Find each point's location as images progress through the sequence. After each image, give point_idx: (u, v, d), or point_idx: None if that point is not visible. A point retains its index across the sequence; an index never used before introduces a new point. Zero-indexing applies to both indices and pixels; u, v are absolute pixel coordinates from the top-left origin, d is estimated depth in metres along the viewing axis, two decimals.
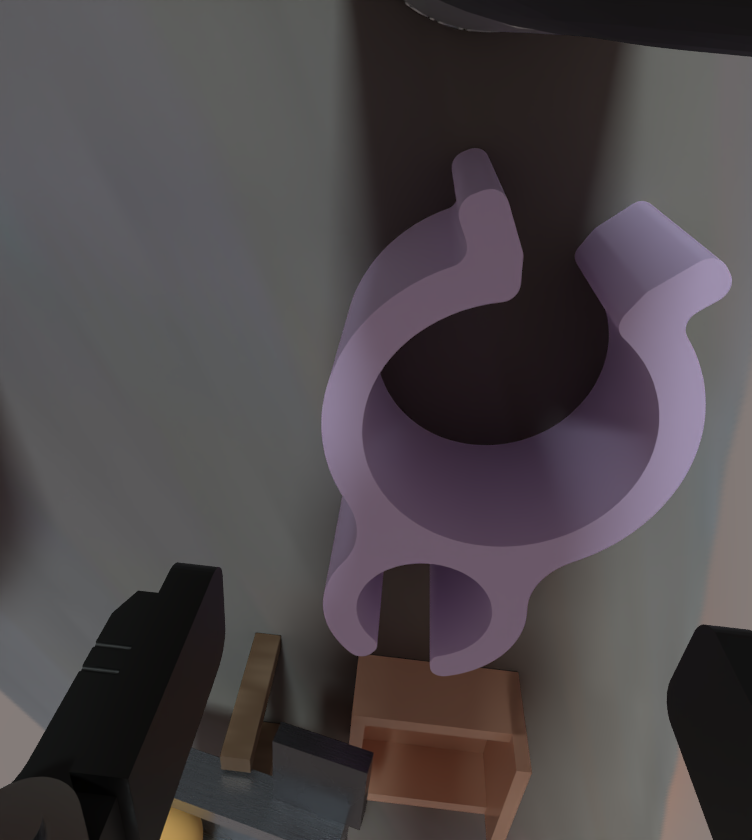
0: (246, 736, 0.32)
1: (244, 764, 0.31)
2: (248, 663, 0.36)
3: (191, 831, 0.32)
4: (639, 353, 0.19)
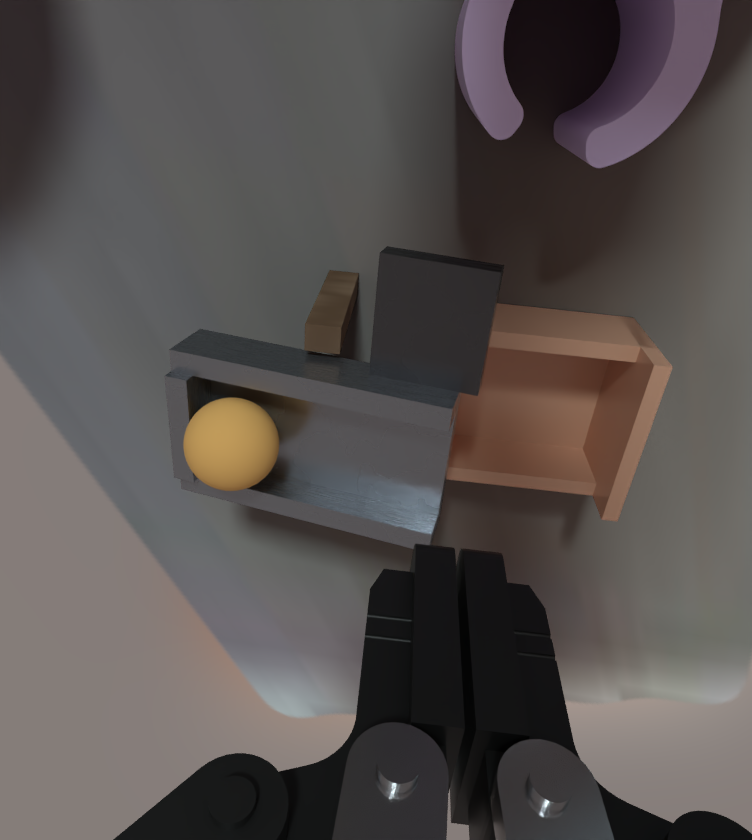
0: (333, 316, 0.27)
1: (334, 336, 0.26)
2: (325, 283, 0.31)
3: (268, 423, 0.26)
4: None
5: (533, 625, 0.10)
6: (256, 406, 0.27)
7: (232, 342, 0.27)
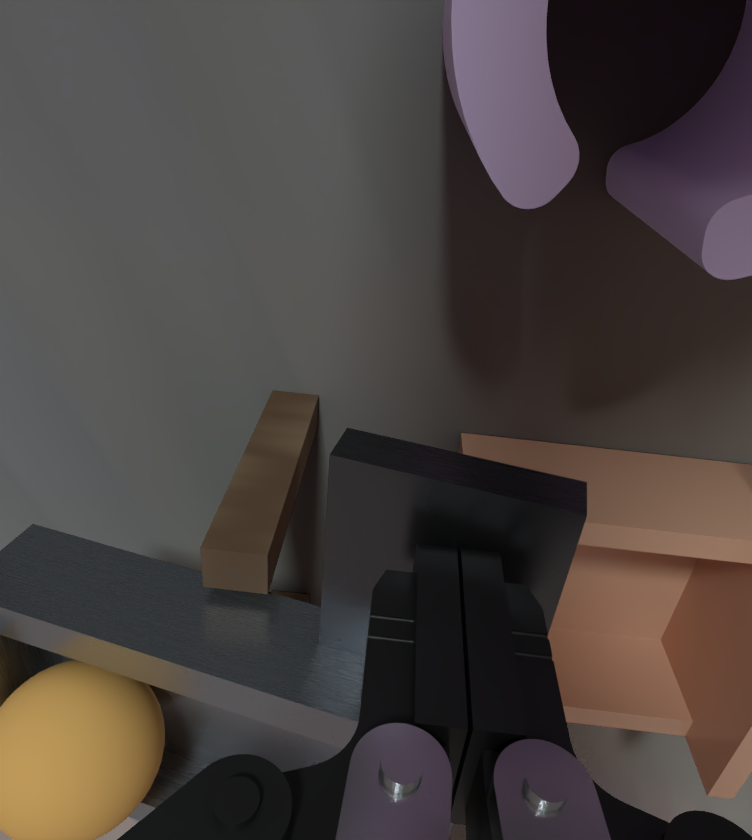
0: (258, 519, 0.15)
1: (255, 568, 0.14)
2: (260, 424, 0.19)
3: (136, 724, 0.14)
4: None
5: (530, 625, 0.10)
6: (116, 687, 0.15)
7: (80, 560, 0.15)
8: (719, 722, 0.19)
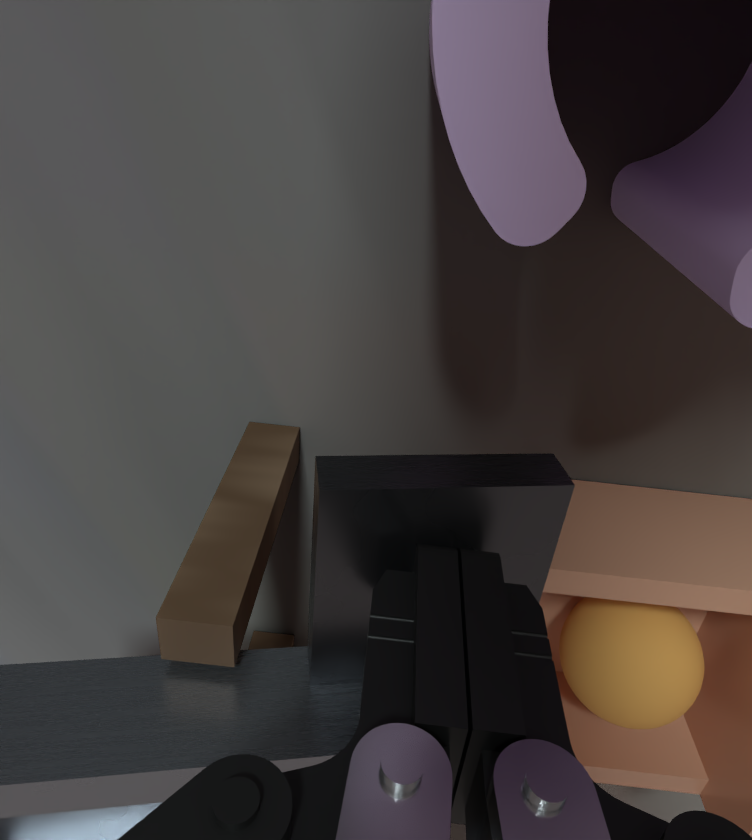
0: (225, 580, 0.13)
1: (219, 640, 0.12)
2: (233, 462, 0.17)
3: None
4: None
5: (530, 625, 0.10)
6: None
7: None
8: (739, 786, 0.18)
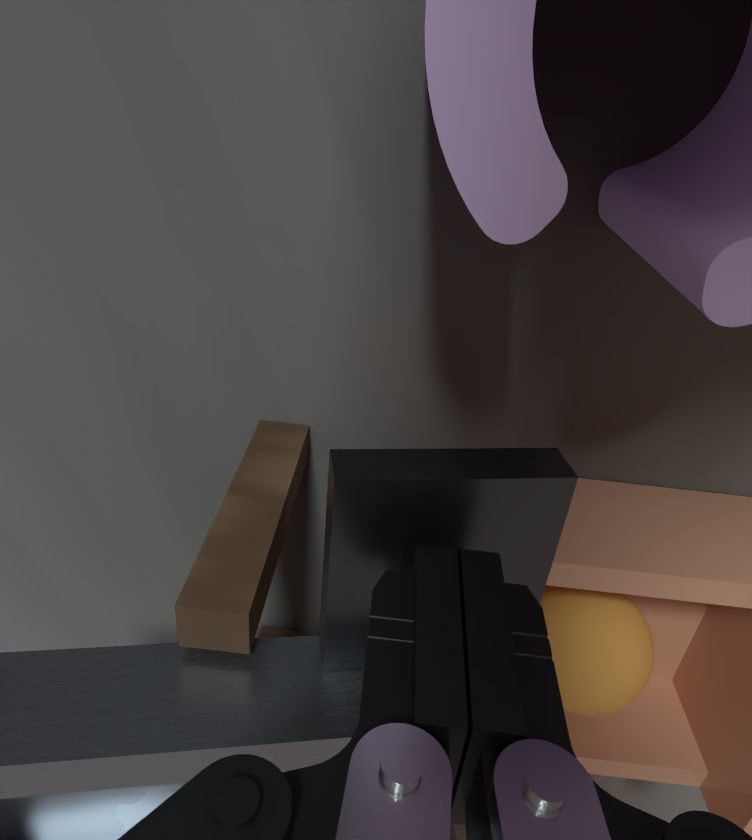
0: (240, 571, 0.14)
1: (235, 628, 0.13)
2: (245, 459, 0.17)
3: None
4: None
5: (530, 625, 0.10)
6: None
7: (5, 679, 0.13)
8: (738, 776, 0.18)
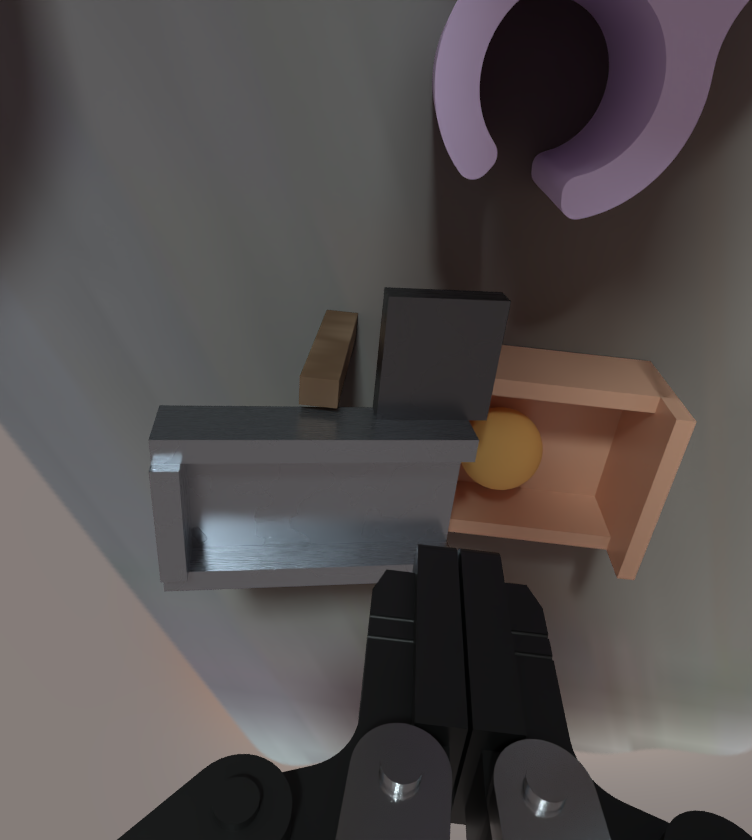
0: (331, 366, 0.25)
1: (331, 390, 0.24)
2: (322, 325, 0.28)
3: (536, 427, 0.30)
4: None
5: (530, 625, 0.10)
6: None
7: (210, 414, 0.24)
8: (624, 527, 0.29)
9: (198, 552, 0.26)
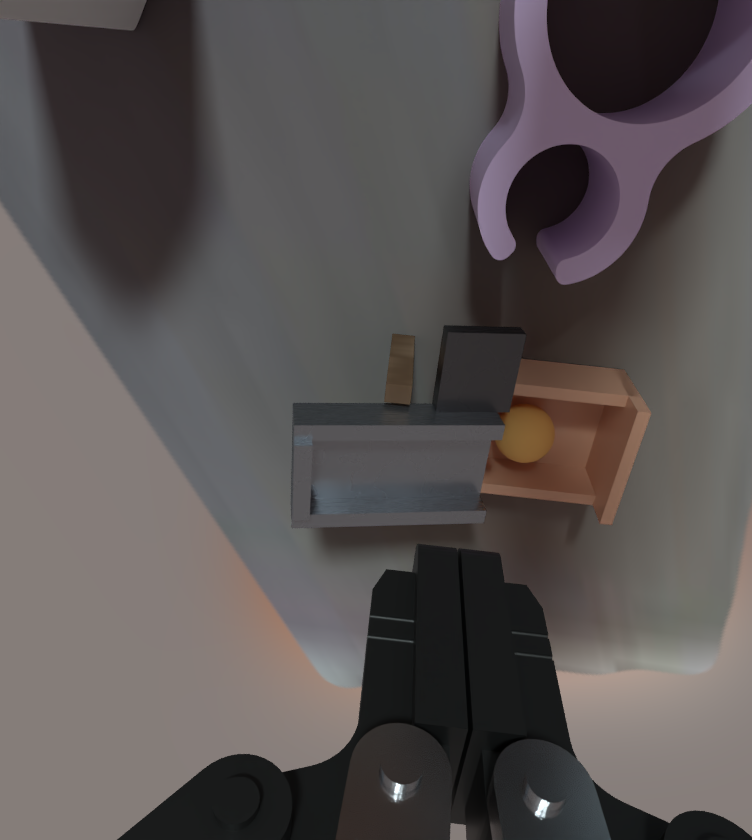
0: (404, 376, 0.37)
1: (406, 392, 0.36)
2: (392, 346, 0.41)
3: None
4: None
5: (530, 625, 0.10)
6: (536, 406, 0.43)
7: (327, 408, 0.36)
8: (604, 487, 0.42)
9: (312, 502, 0.38)
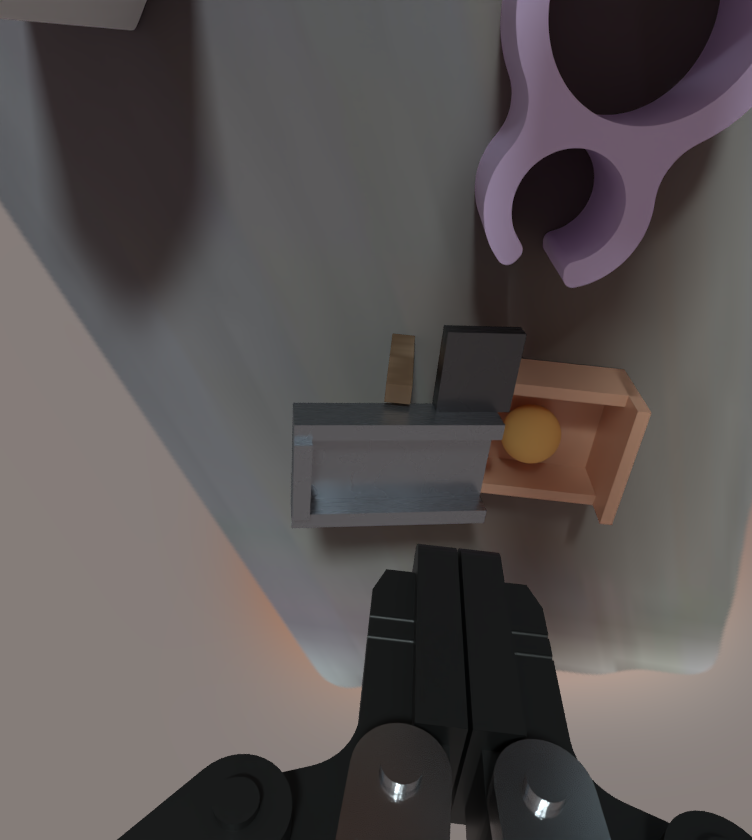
0: (405, 376, 0.37)
1: (406, 392, 0.36)
2: (392, 346, 0.41)
3: None
4: None
5: (530, 625, 0.10)
6: None
7: (327, 408, 0.36)
8: (604, 487, 0.42)
9: (312, 502, 0.38)
